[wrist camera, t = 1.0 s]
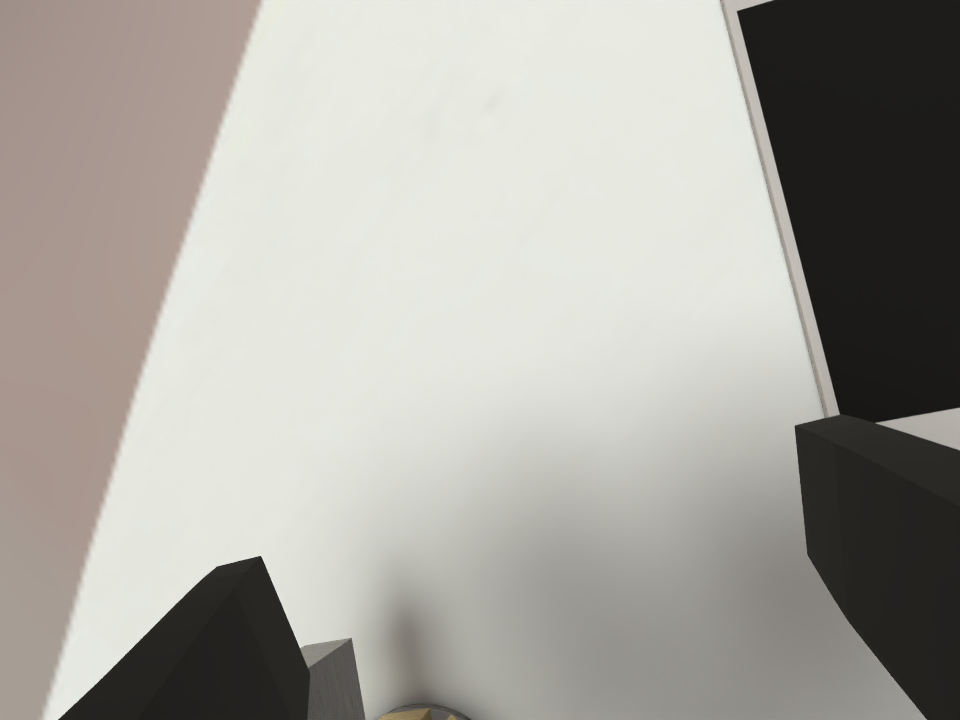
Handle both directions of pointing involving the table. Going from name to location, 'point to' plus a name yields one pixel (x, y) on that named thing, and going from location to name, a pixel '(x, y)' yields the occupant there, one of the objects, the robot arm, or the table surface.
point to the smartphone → (865, 194)
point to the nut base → (432, 711)
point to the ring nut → (341, 685)
